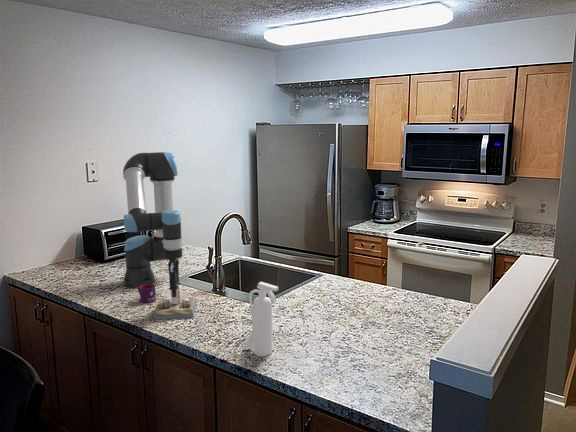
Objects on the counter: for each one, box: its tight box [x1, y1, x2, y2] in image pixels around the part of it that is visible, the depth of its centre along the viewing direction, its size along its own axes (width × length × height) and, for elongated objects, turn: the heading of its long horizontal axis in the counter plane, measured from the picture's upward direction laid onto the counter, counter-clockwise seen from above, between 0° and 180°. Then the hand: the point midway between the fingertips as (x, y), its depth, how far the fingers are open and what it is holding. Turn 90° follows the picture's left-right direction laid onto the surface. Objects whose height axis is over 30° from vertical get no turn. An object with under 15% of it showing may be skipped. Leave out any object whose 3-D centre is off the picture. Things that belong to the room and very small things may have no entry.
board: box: [153, 297, 198, 320], centre depth 195 cm, size 16×16×5 cm
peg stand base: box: [154, 284, 196, 315], centre depth 192 cm, size 15×11×10 cm
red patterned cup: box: [137, 283, 157, 305], centre depth 207 cm, size 7×10×7 cm
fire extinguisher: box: [245, 281, 279, 357], centre depth 157 cm, size 7×12×25 cm, turn 61°
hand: (175, 301), depth 194 cm, fingers closed on peg stand base, 3 cm apart
